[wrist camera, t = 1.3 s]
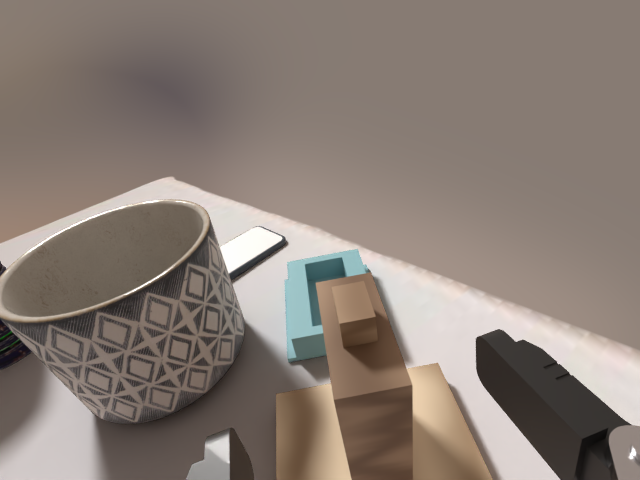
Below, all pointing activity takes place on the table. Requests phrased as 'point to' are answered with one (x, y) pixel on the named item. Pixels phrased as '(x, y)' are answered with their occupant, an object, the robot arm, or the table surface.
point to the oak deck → (327, 444)
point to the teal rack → (312, 299)
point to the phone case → (250, 249)
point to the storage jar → (10, 343)
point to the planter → (129, 309)
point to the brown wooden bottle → (367, 379)
